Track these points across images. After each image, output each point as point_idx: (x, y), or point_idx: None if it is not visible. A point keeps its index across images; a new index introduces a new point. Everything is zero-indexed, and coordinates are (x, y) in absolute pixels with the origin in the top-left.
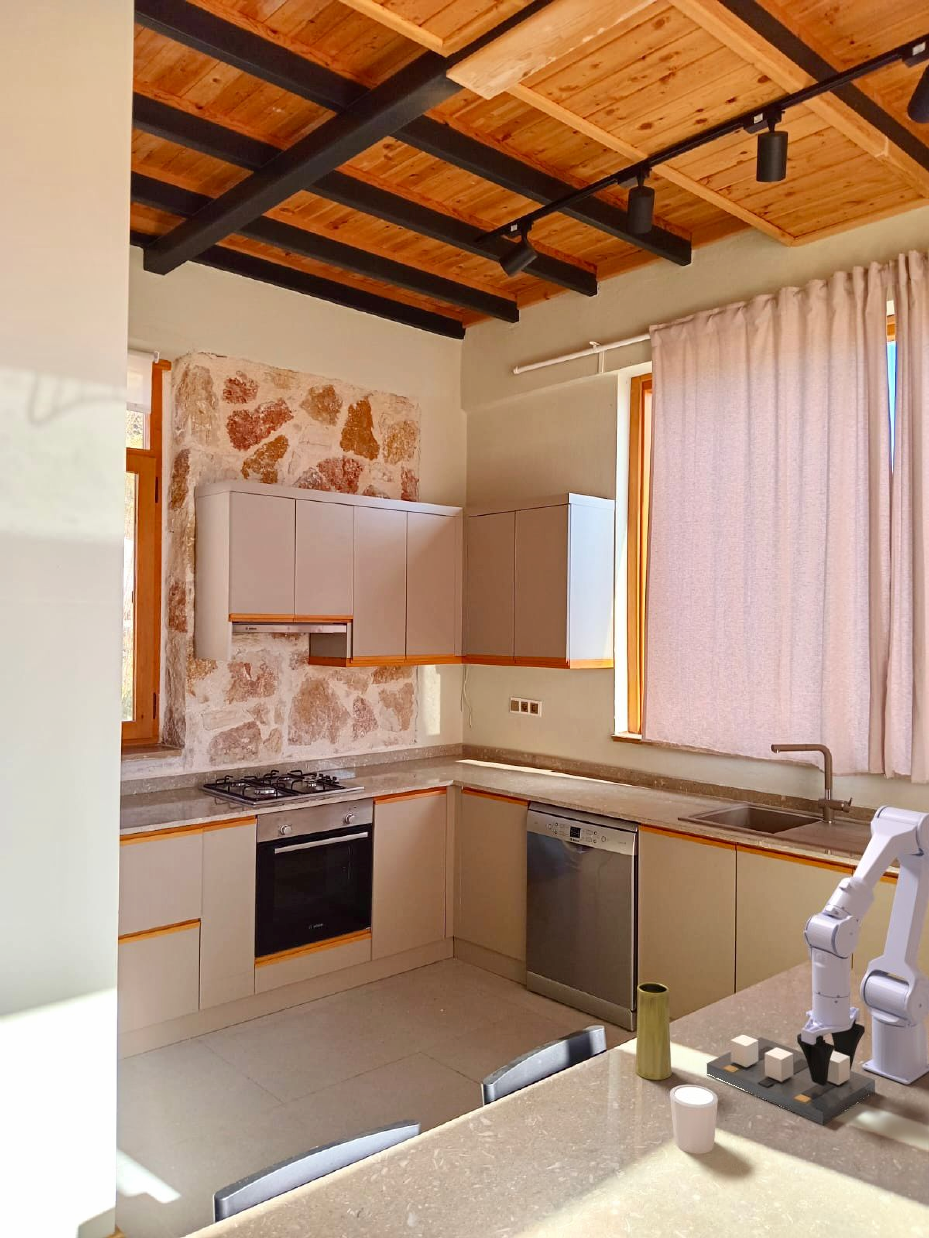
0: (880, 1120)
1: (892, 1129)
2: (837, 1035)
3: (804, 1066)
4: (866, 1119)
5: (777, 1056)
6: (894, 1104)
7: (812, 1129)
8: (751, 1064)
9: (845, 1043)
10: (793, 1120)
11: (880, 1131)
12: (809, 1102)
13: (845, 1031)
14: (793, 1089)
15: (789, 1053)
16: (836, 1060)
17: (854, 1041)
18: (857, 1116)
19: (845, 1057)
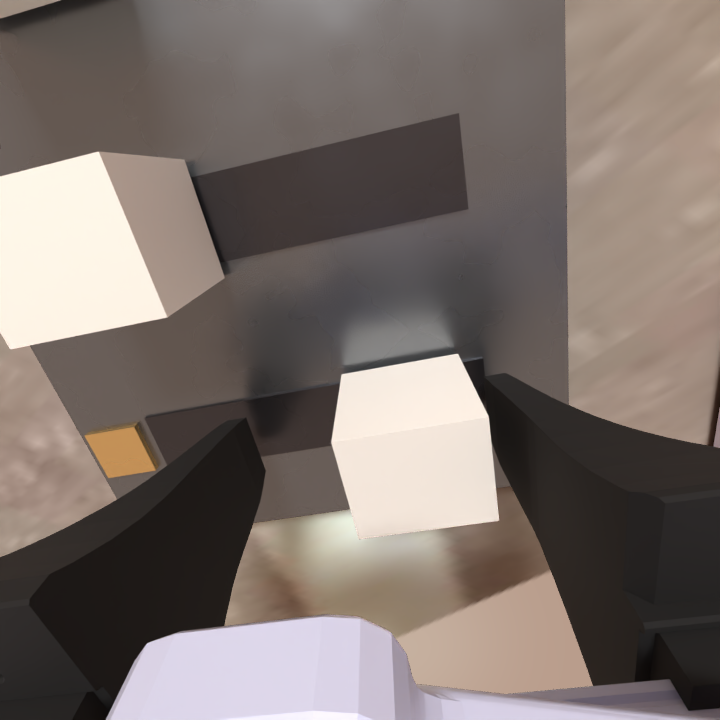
0: (370, 557)
1: (356, 596)
2: (570, 512)
3: (383, 215)
4: (333, 537)
5: (8, 296)
6: (513, 523)
7: (111, 501)
8: (41, 5)
9: (555, 529)
10: (80, 439)
11: (313, 588)
12: (136, 475)
13: (605, 629)
14: (138, 372)
15: (139, 302)
16: (373, 517)
17: (573, 622)
18: (322, 515)
19: (463, 515)
